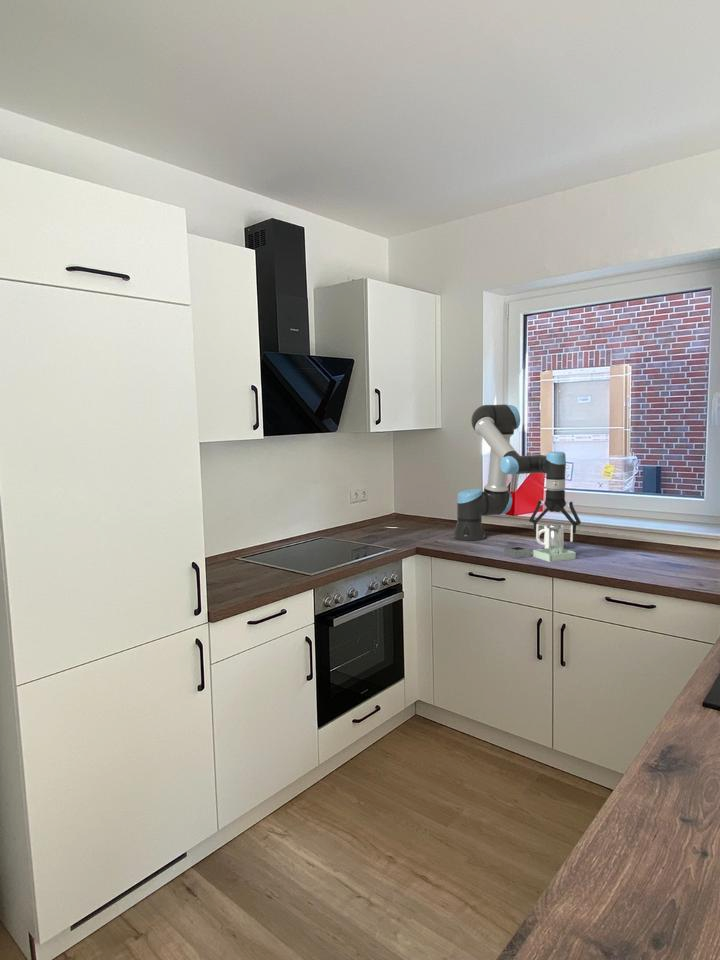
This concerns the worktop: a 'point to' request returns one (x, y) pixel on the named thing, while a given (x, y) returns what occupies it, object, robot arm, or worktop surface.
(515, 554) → the hitch plate
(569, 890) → the worktop surface
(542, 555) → the tray
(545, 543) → the mug
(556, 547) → the pin
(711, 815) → the worktop surface
